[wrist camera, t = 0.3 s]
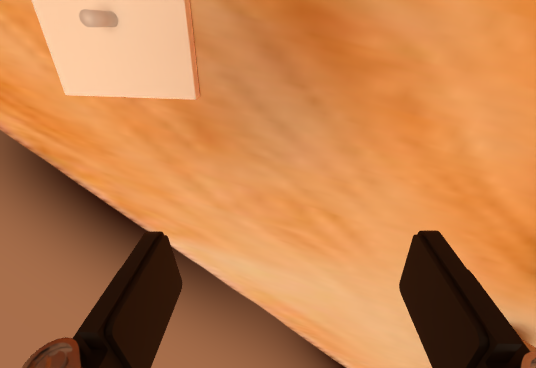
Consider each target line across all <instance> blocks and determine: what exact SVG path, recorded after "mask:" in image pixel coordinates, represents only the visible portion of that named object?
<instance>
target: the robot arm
mask: <svg viewBox="0 0 536 368" xmlns="http://www.w3.org/2000/svg"><path fill="white" fill-rule="evenodd" d="M399 288H400V292H401V295H402V297H403V300H404V302H405V304H406V307H407V309H408V312H409V314H410V316H411V319H412V321H413V323H414V326H415V328H416V330H417V333H418V335H419V337H420V340H421V342H422V344H423V347H424V349H425V352H426V354H427V356H428V359H429V361H430V363H431V366H432V368H536V351H534V352H530V350H529V349H528V348H527V346H526V345H525V344H524V342H523V341H522V340H521V338H520V337H519V335H518V334H517V333H516V331H515V330H514V329H513V327H512V326H511V325H510V323H509V322H508V321H507V319H506V318H505V317H504V315H503V314H502V313H501V311H500V310H499V309H498V307H497V306H496V305H495V303H494V302H493V301H492V299H491V298H490V297H489V295H488V294H487V293H486V291H485V290H484V289H483V287H482V286H481V285H480V283H479V282H478V281H477V279H476V278H475V276H474V275H473V274H472V273H471V272H470V271H469V270H468V269H467V268H466V267H465V266H464V264H463V263H462V262H461V260H460V259H459V258H458V256H457V255H456V253H455V252H454V251H453V249H452V248H451V247H450V245H449V244H448V243H447V241H446V240H445V239H444V237H443V236H442V235H441V233H440V232H439V231H419V232H418V234H417V235H414V236H413V239H412V242H411V246H410V249H409V252H408V256H407V259H406V263H405V266H404V270H403V273H402V276H401V280H400V284H399ZM181 289H182V279H181V276H180V273H179V270H178V267H177V264H176V261H175V258H174V254H173V251H172V248H171V245H170V242H169V239H168V236H167V235H164V234H163V232H146V233H145V234H144V235H143V236H142V238H141V240H140V241H139V242H138V244H137V245H136V247H135V248H134V250H133V251H132V253H131V254H130V256H129V257H128V259H127V260H126V261H125V263H124V265H123V266H122V267H121V269H120V270H119V271H118V272H117V274H116V275H115V277H114V278H113V280H112V281H111V283H110V284H109V285H108V287H107V288H106V290H105V291H104V293H103V295H102V296H101V297H100V299H99V300H98V302H97V303H96V305H95V306H94V308H93V309H92V310H91V312H90V313H89V315H88V316H87V318H86V319H85V321H84V322H83V324H82V325H81V327H80V328H79V330H78V331H77V333H76V334H75V336H74V337H73V338H66V337H65V338H60V339H56V340H54V341H51V342H49V343H47V344H46V345H44V346H43V347H41V348H39V349H38V350H37V351H36V352H35V353H34V354H32V355H31V356H30V358H29V359H28V360H27V361H26V362H25V364H24V365H23V367H22V368H151V366H152V363H153V360H154V358H155V355H156V353H157V350H158V348H159V345H160V343H161V340H162V338H163V335H164V333H165V330H166V328H167V325H168V322H169V320H170V317H171V315H172V312H173V310H174V307H175V304H176V302H177V299H178V297H179V295H180V292H181Z"/></svg>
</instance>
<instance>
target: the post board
mask: <svg viewBox="0 0 536 368" xmlns="http://www.w3.org/2000/svg"><path fill="white" fill-rule="evenodd" d="M32 3H33V6H34V8H35V11H36V14H37V17H38V19H39V22H40V25H41V28H42V31H43V33H44V36H45V39H46V42H47V45H48V47H49V50H50V53H51V56H52V59H53V61H54V64H55V67H56V70H57V73H58V75H59V78H60V81H61V84H62V86H63V89H64V92H65V95H79V96H108V97H137V98H166V99H195V100H196V99H197V98H198V97H199V96H200V92H199V82H198V73H197V64H196V55H195V45H194V36H193V27H192V18H191V8H190V0H32Z"/></svg>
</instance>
